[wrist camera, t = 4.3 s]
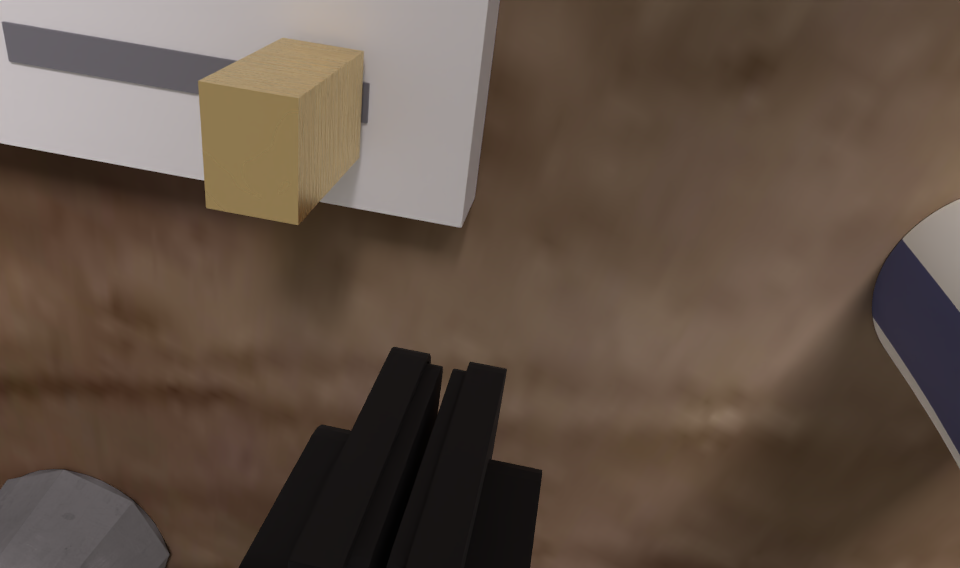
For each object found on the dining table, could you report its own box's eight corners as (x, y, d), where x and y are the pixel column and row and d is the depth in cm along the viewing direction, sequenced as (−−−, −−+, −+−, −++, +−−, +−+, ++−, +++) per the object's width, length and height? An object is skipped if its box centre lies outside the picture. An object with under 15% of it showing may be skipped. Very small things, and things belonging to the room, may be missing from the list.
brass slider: (363, 51, 22) (298, 98, 17) (359, 157, 23) (298, 225, 19) (282, 37, 22) (198, 81, 18) (283, 144, 23) (205, 207, 19)
